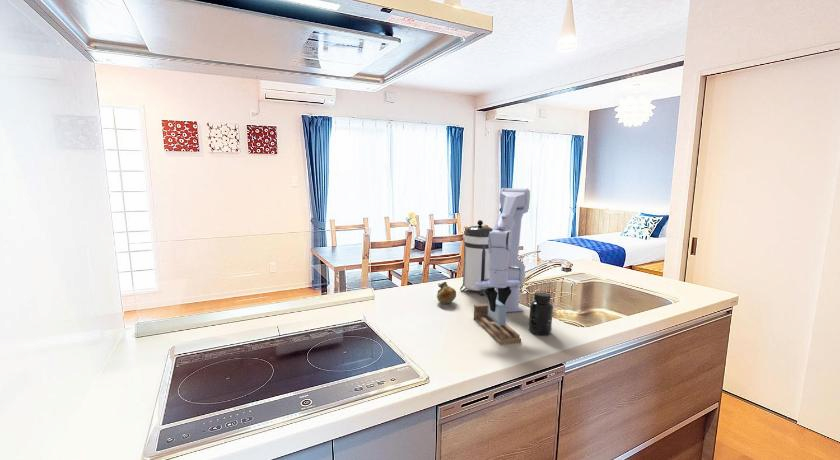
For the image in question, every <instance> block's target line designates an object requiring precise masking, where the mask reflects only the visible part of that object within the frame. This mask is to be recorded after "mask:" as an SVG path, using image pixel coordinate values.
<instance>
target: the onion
mask: <svg viewBox="0 0 840 460" xmlns="http://www.w3.org/2000/svg"><path fill="white" fill-rule="evenodd" d="M447 283H448V282H447V281H444V282H440V283H438V284H437V286H438V287H439V288H440V289H438V291H437V294H436V299H437V301H438V302H439V303H440V304H443V305H448V304H451V303H452V302H453V301H454V300H455V299H456V297H457V292H456V291H457V290H455V288H453V287H451V286H449V285H448V284H447Z"/></svg>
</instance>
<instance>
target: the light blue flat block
mask: <svg viewBox="0 0 840 460" xmlns="http://www.w3.org/2000/svg"><path fill="white" fill-rule="evenodd" d="M487 304H488V314H487V315H488V316H489V317H490V318H491V319H492V320H493V321H495V322H496V323H497V324H498V325H499V326H501V325H506V324H507V323H506V322H507V312H506V306H505V305H504V304H503V303H501V302H500V301H498V300H497V299H496V308H495V312H492V311H491V310H490V304H489V300H488V299H487Z"/></svg>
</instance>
